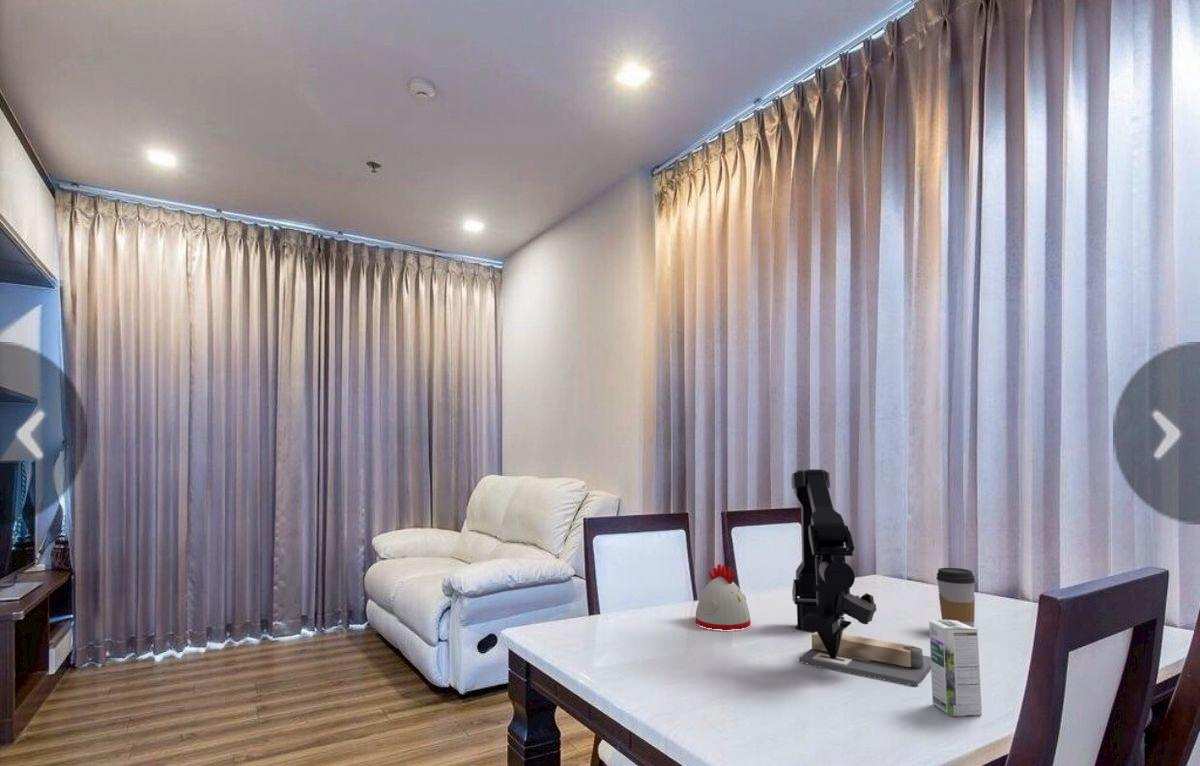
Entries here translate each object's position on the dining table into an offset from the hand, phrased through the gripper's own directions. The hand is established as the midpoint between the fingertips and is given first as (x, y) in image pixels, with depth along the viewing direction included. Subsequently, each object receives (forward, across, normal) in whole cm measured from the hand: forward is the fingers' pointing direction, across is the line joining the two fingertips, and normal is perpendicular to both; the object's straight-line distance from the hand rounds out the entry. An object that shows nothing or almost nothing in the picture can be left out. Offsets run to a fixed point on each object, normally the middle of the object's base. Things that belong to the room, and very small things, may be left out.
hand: (833, 658), depth 134 cm
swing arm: (+1, +7, -4) cm, 9 cm away
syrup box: (+2, -9, -24) cm, 26 cm away
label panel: (+2, +7, -4) cm, 9 cm away
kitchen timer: (+2, +16, +34) cm, 38 cm away
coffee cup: (+2, +41, -16) cm, 44 cm away
